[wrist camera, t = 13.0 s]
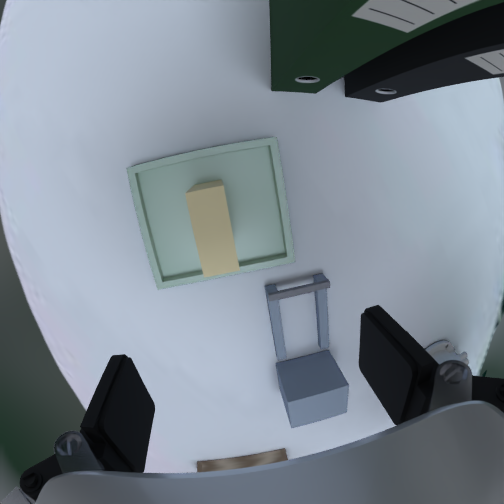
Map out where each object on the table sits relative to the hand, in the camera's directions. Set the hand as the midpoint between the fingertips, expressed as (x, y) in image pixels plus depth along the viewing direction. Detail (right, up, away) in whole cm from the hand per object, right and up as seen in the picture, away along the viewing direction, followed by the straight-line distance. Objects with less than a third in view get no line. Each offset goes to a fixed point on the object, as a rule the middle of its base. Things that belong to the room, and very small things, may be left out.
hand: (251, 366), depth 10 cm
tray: (-4, +9, +21) cm, 23 cm away
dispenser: (+7, -8, +28) cm, 29 cm away
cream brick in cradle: (-4, +9, +20) cm, 22 cm away
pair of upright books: (+9, +36, +14) cm, 40 cm away
